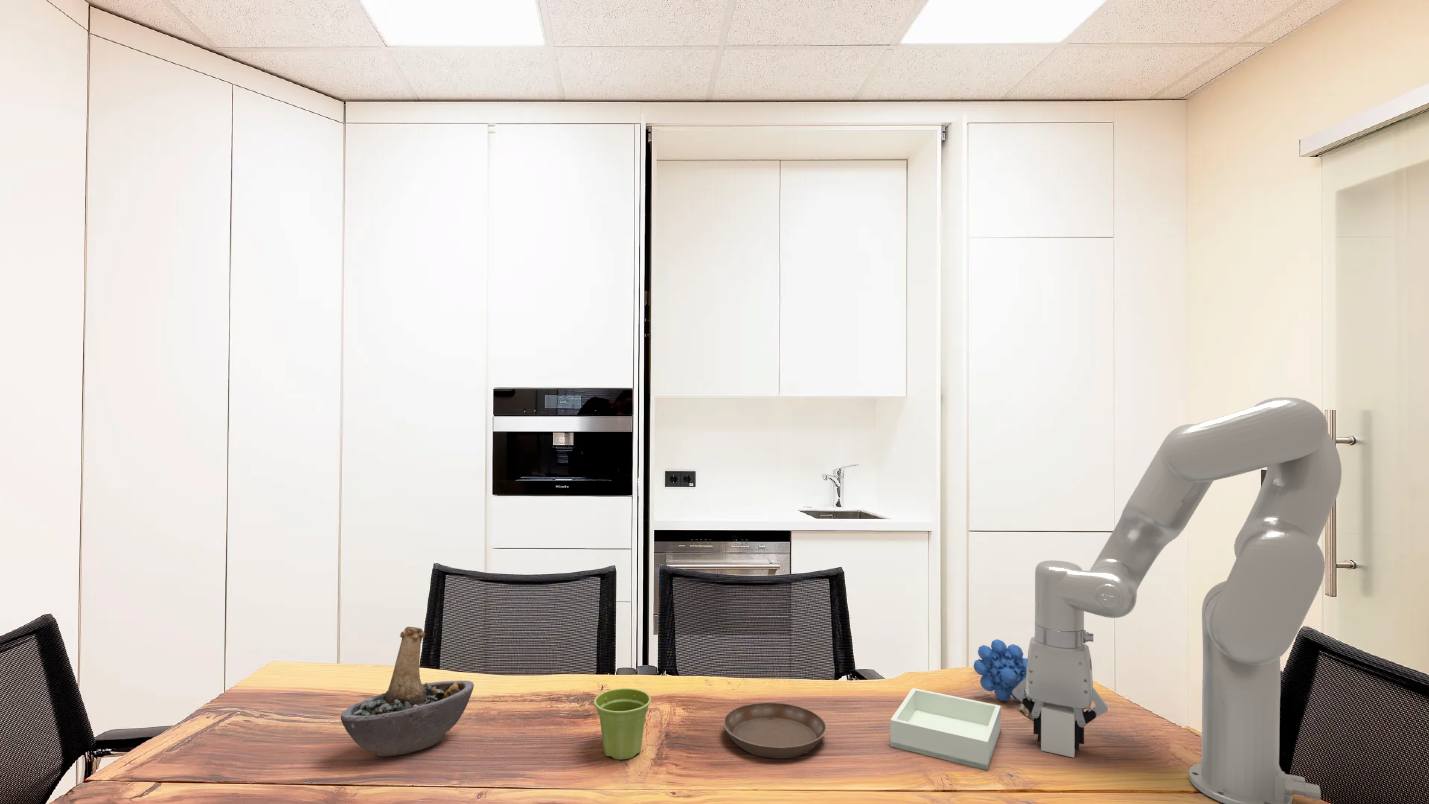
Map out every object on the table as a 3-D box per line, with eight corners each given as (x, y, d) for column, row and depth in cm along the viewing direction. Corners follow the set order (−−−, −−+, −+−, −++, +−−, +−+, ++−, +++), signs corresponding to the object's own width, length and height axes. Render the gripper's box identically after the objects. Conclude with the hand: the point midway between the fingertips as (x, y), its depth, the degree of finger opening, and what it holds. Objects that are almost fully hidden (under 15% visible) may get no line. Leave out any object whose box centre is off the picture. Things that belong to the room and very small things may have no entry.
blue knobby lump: (977, 708, 137) (978, 645, 137) (970, 693, 144) (971, 634, 144) (1042, 712, 136) (1043, 649, 136) (1031, 698, 142) (1032, 637, 142)
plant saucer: (753, 709, 137) (753, 693, 137) (841, 732, 127) (841, 715, 127) (704, 747, 121) (704, 729, 121) (800, 777, 112) (800, 757, 112)
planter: (477, 732, 125) (479, 618, 125) (413, 781, 109) (414, 650, 109) (406, 721, 129) (407, 610, 129) (333, 766, 113) (334, 640, 113)
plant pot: (596, 769, 113) (597, 714, 113) (590, 741, 123) (591, 690, 122) (655, 761, 116) (655, 708, 116) (645, 735, 125) (645, 685, 125)
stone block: (1075, 745, 123) (1075, 704, 123) (1074, 757, 118) (1074, 715, 118) (1043, 738, 125) (1043, 698, 125) (1041, 750, 121) (1041, 708, 121)
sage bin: (1000, 731, 128) (1000, 705, 128) (987, 770, 114) (987, 742, 114) (912, 711, 136) (912, 687, 136) (890, 746, 122) (890, 719, 122)
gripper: (1116, 637, 121) (1115, 745, 121) (1007, 622, 129) (1007, 723, 129) (1116, 651, 114) (1116, 765, 114) (1002, 634, 123) (1001, 740, 123)
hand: (1058, 741), depth 122 cm, fingers closed on stone block, 5 cm apart
